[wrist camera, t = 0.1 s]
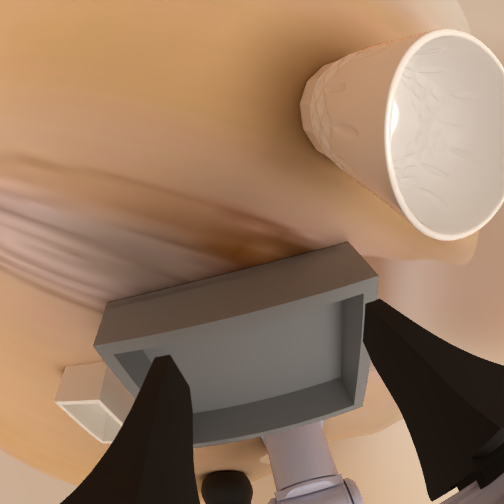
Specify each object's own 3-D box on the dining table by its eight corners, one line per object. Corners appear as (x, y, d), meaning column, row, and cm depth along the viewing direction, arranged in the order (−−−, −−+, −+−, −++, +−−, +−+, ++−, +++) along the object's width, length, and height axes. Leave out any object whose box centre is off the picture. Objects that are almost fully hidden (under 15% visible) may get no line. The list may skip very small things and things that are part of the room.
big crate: (347, 373, 29) (362, 406, 25) (182, 413, 28) (183, 449, 24) (348, 241, 21) (378, 275, 17) (107, 302, 20) (93, 345, 16)
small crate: (146, 406, 27) (143, 442, 23) (106, 409, 27) (101, 443, 23) (108, 359, 23) (99, 399, 19) (66, 365, 23) (54, 401, 19)
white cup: (264, 132, 16) (336, 171, 8) (328, 28, 13) (441, -14, 5) (363, 192, 19) (464, 269, 10) (416, 101, 16) (536, 128, 7)
